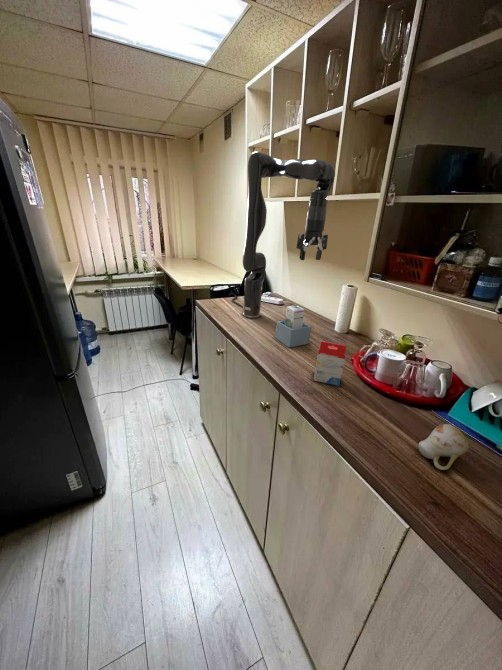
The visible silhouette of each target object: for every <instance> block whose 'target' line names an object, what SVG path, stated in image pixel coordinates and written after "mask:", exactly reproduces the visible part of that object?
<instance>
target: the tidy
mask: <svg viewBox="0 0 502 670" xmlns="http://www.w3.org/2000/svg"><path fill="white" fill-rule="evenodd" d="M311 331H312V326H311V325H309V324H307V323H306V322H303V325H302V328H296V329H291V328H289V327H287V326H286V325H285V319H284V320H277V321H276V327H275V336H274V337H275V339H276V340H278V341H279V342H280V343H282V344H283V345H284V346H286V347H287V348H294V347H298V346H299V347H300V346H304V345H310V344H309V343H310V338H311V337H310V336H311Z"/></svg>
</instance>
